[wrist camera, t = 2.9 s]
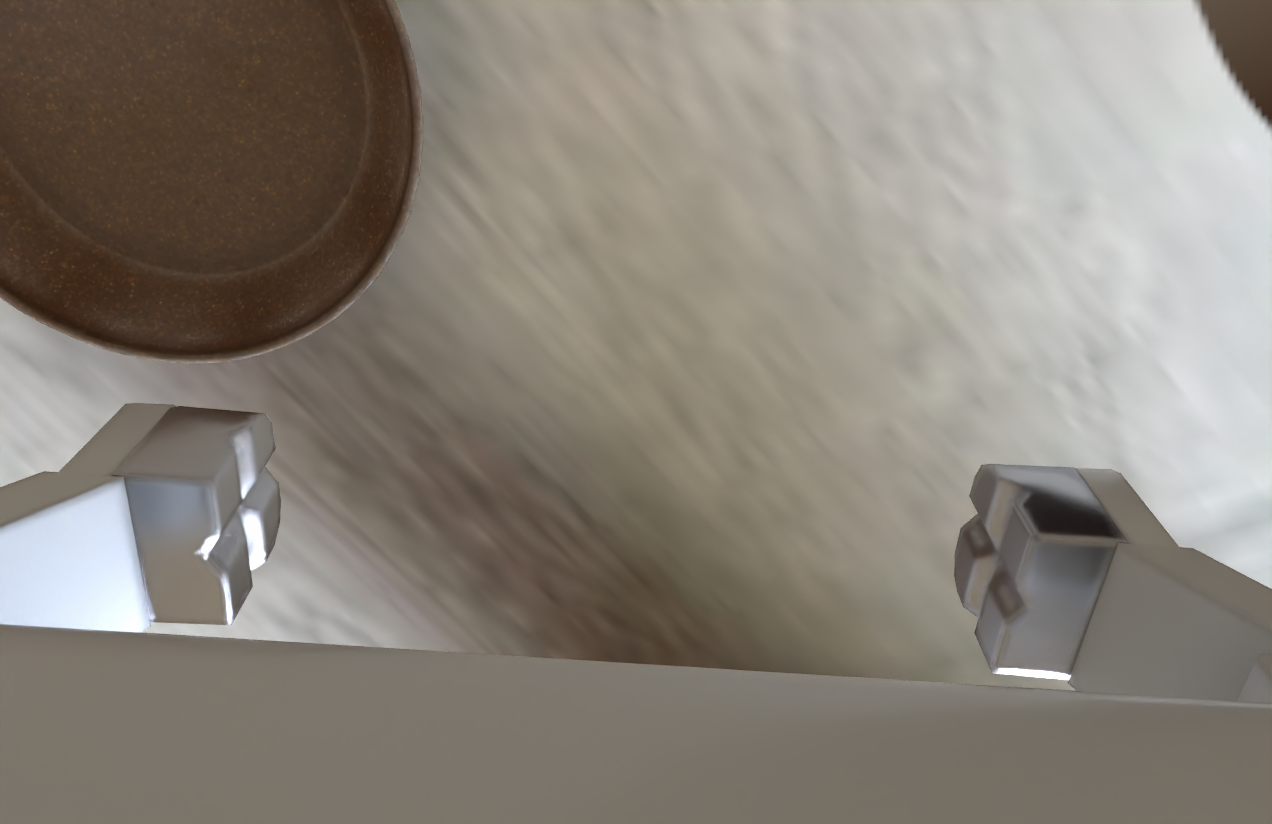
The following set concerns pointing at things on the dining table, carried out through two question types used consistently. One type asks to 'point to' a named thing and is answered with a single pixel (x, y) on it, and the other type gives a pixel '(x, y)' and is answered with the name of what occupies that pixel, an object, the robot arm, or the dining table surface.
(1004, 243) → the dining table surface
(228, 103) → the saucer
